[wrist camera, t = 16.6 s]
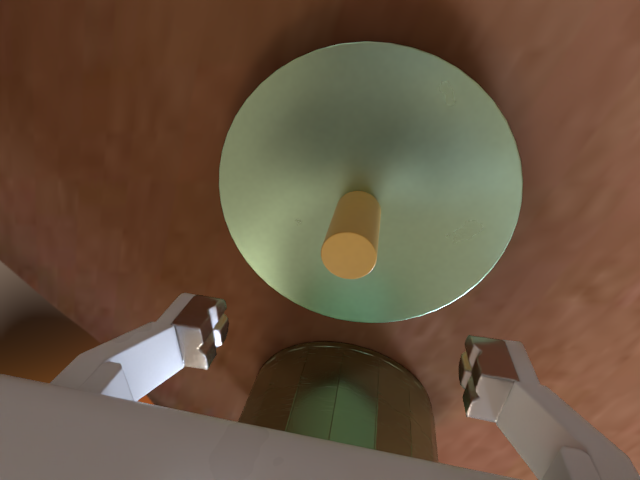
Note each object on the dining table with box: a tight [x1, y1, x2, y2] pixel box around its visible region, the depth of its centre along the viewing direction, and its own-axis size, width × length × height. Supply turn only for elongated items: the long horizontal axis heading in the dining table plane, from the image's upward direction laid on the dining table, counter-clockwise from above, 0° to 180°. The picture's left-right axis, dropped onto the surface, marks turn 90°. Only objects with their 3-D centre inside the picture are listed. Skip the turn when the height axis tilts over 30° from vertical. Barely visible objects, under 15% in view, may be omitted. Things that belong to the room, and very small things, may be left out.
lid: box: [219, 41, 523, 323], centre depth 17 cm, size 16×16×6 cm
